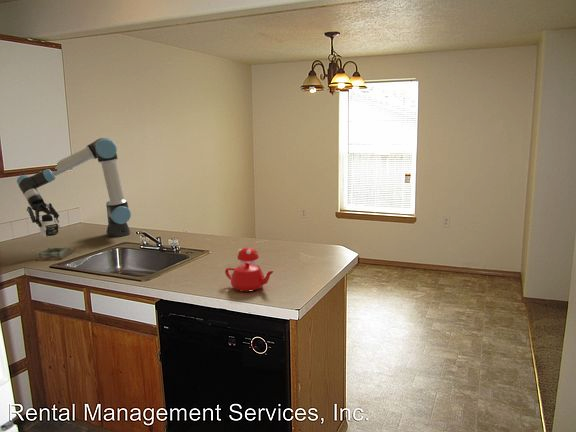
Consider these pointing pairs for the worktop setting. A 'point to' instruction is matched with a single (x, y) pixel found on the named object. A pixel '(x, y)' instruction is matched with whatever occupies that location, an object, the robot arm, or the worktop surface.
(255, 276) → the teapot
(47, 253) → the collar board
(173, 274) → the worktop surface
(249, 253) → the mushroom
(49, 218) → the medicine bottle
